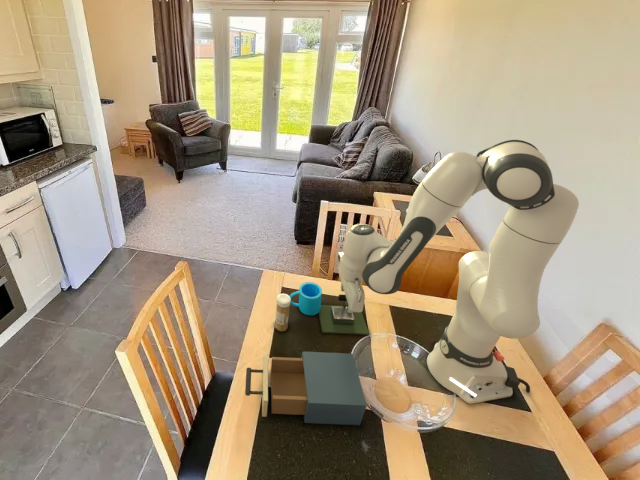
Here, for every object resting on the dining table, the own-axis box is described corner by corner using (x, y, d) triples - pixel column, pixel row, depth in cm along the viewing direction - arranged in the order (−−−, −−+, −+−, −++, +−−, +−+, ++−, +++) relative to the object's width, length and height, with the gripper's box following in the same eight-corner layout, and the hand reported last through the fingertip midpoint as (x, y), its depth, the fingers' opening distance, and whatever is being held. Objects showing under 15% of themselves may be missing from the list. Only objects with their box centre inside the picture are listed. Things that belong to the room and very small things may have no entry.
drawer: (244, 415, 83) (244, 399, 79) (246, 369, 94) (247, 353, 91) (313, 418, 83) (316, 402, 79) (307, 371, 94) (310, 355, 91)
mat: (359, 307, 118) (359, 306, 118) (369, 335, 107) (369, 333, 107) (317, 305, 118) (317, 304, 118) (322, 333, 107) (322, 331, 107)
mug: (318, 297, 121) (319, 281, 117) (322, 315, 113) (324, 298, 110) (287, 298, 121) (287, 282, 117) (289, 315, 114) (289, 299, 110)
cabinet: (304, 423, 83) (308, 402, 78) (299, 371, 95) (302, 351, 91) (360, 425, 83) (366, 405, 78) (347, 373, 95) (352, 353, 91)
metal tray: (349, 312, 115) (354, 290, 110) (353, 325, 110) (358, 302, 105) (330, 311, 115) (334, 290, 110) (333, 324, 110) (337, 301, 105)
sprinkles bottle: (290, 328, 109) (293, 299, 103) (279, 334, 106) (282, 305, 100) (282, 319, 112) (285, 291, 106) (271, 324, 110) (274, 296, 104)
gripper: (372, 293, 93) (364, 325, 99) (355, 250, 111) (348, 279, 117) (351, 292, 93) (344, 324, 99) (337, 249, 111) (331, 279, 117)
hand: (346, 300), depth 108 cm, fingers open, 8 cm apart
